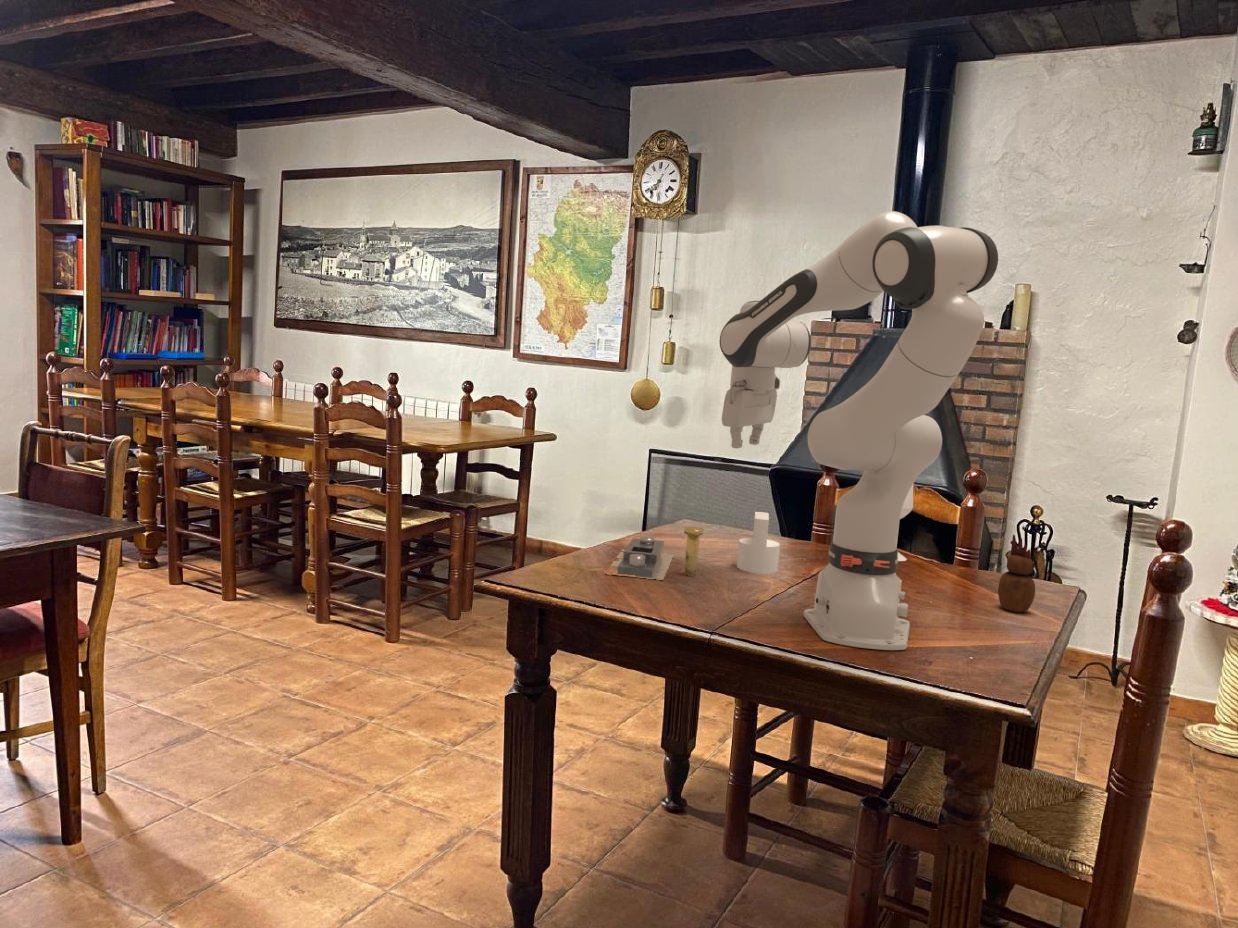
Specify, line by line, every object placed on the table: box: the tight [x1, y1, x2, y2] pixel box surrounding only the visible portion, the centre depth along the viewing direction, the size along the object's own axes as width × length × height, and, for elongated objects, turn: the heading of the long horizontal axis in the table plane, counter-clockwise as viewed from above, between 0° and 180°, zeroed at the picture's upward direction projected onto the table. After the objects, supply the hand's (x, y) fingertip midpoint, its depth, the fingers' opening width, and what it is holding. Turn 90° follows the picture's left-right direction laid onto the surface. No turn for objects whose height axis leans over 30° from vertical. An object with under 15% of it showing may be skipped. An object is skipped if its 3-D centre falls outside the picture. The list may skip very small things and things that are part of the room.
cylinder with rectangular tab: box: [736, 511, 781, 575], centre depth 199 cm, size 9×9×12 cm
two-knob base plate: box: [610, 535, 675, 581], centre depth 195 cm, size 23×12×4 cm, turn 171°
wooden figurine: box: [997, 534, 1036, 613], centre depth 178 cm, size 7×6×15 cm
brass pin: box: [683, 526, 704, 577], centre depth 189 cm, size 4×4×10 cm
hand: (745, 446), depth 188 cm, fingers open, 8 cm apart
